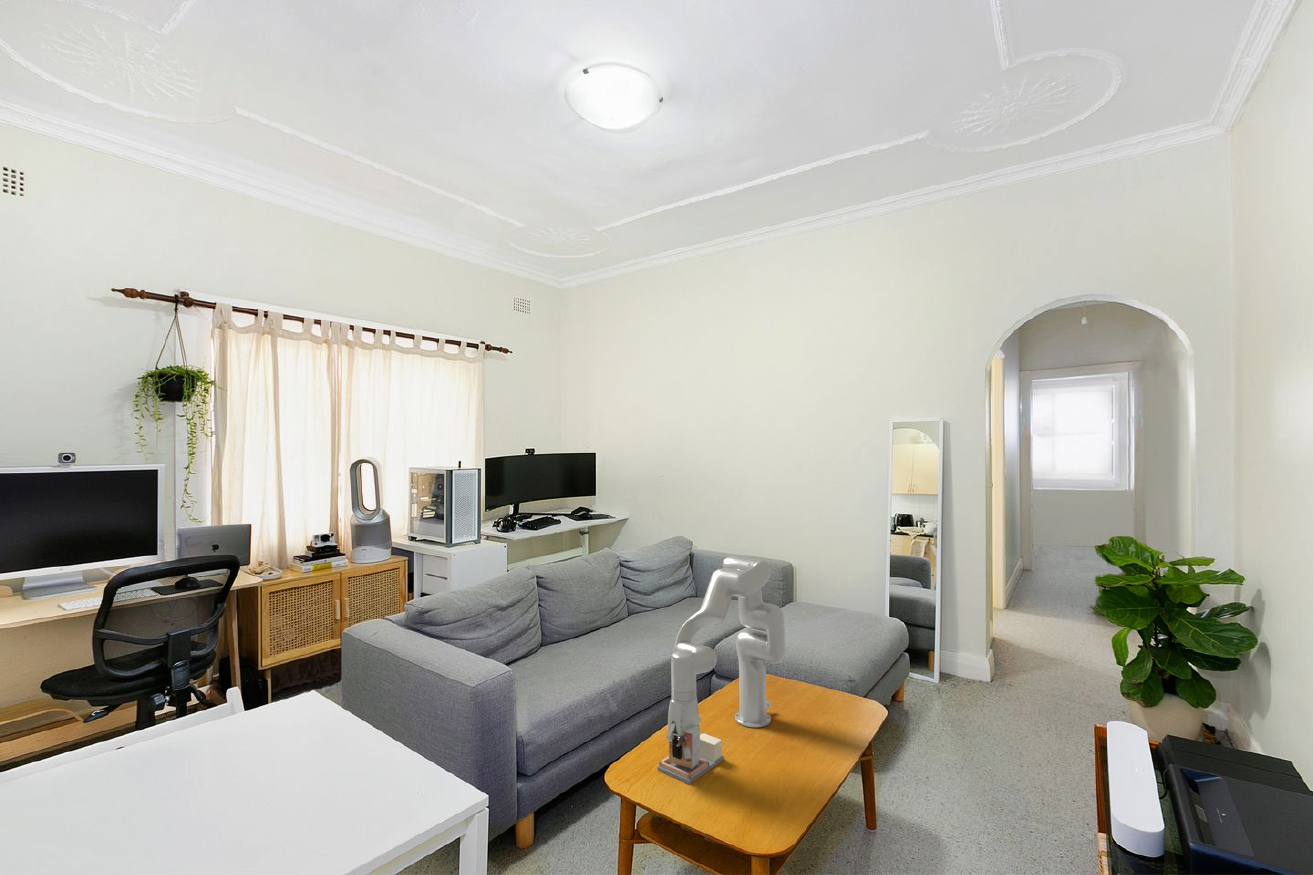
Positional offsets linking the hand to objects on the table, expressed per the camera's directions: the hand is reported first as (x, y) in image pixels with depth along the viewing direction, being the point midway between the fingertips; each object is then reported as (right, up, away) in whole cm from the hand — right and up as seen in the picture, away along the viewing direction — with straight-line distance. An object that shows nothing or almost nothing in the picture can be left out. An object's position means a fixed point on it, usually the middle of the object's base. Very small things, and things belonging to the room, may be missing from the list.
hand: (684, 752), depth 179 cm
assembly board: (+2, -5, +2) cm, 6 cm away
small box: (0, -3, 0) cm, 3 cm away
